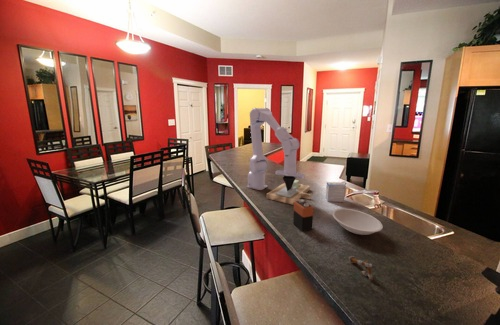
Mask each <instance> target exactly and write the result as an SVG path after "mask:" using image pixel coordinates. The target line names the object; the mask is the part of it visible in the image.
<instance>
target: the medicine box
mask: <svg viewBox="0 0 500 325" xmlns="http://www.w3.org/2000/svg"><path fill="white" fill-rule="evenodd" d="M325 186H326V187H325V199H326V202H330V203H331V202H334V203H335V202H336V203H344V202H345V197H346V187H347V186H346V184H345V183H344V182H339V181H338V182H335V181H331V182H330V181H326V185H325Z"/></svg>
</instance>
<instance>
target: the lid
mask: <svg viewBox="0 0 500 325" xmlns="http://www.w3.org/2000/svg"><path fill="white" fill-rule="evenodd" d="M297 192H298V190H296V187H293V188H291V189H290V190H288V191H287V188H286V187H284V188H283V189H281V190H280V191H278V192H277V193H276V195H280V196H284V197H292V196H293V195H294V194H295V193H297Z"/></svg>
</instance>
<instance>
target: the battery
mask: <svg viewBox="0 0 500 325" xmlns="http://www.w3.org/2000/svg"><path fill="white" fill-rule="evenodd" d="M313 221H314V206H313V205H311V204H309V203H308V202H306V201H305V199H304V198H300V199H299V201H296V202H294V205H293V219H292V223H293V225H295V226H296V227H297V228H298V229H299V230H301V232H307V231H311V230H313Z"/></svg>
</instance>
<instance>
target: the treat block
mask: <svg viewBox="0 0 500 325" xmlns="http://www.w3.org/2000/svg"><path fill="white" fill-rule="evenodd" d="M299 184H300V180H298V179H295V181H294V182H293V185H292V188H293V187H296V190H297V189H298V188H299Z"/></svg>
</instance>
